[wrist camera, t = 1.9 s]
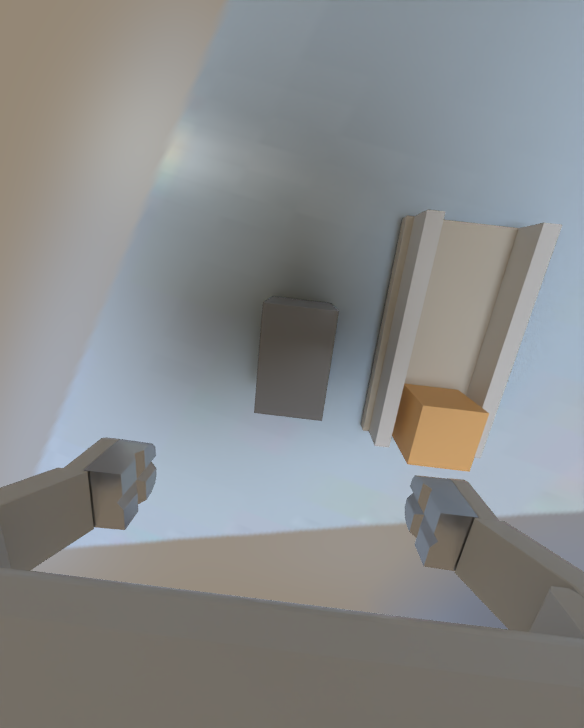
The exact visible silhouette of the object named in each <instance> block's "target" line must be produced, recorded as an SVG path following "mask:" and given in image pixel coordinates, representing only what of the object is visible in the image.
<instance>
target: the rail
mask: <svg viewBox="0 0 584 728" xmlns="http://www.w3.org/2000/svg"><path fill="white" fill-rule="evenodd" d="M444 216H445V211H436V210H426V211H424V212H422V213H420V214H418V215H416V216H405V217H404V218H403V219H402V224H401V229H400V234H399V239H398V244H397V249H396V254H395V259H394V264H393V269H392V274H391V279H390V284H389V289H388V294H387V298H386V303H385V308H384V313H383V318H382V323H381V328H380V333H379V338H378V343H377V348H376V353H375V358H374V363H373V368H372V373H371V378H370V383H369V388H368V393H367V398H366V403H365V408H364V413H363V418H362V422H361V427H362V429H363V431H369V433H370V435H371V438H372V440H373V442H374V445H375V446H381V447H389V446H390V441H391V437H392V436H393V438H394V440H395V442H396V444H397V446H398V448H399V449H400V451H401V453H402V455H403V457H404V459H405V461H406V462H407V464H410V465H419V466H427V467H435V468H444V469H452V470H460V471H470V468H471V466H472V463H473V460H474V458H481V455H482V452H483V449H484V447H485V444H486V441H487V438H488V435H489V432H490V429H491V427H492V424H493V421H494V418H495V415H496V412H497V410H498V407H499V404H500V401H501V398H502V395H503V392H504V390H505V387H506V384H507V381H508V378H509V375H510V373H511V370H512V367H513V364H514V361H515V358H516V355H517V353H518V350H519V347H520V344H521V341H522V338H523V336H524V333H525V330H526V327H527V324H528V321H529V318H530V316H531V313H532V310H533V307H534V304H535V301H536V299H537V296H538V293H539V290H540V287H541V284H542V281H543V279H544V276H545V273H546V270H547V267H548V264H549V262H550V259H551V256H552V253H553V250H554V247H555V244H556V242H557V239H558V236H559V233H560V230H561V227H562V225H560V224H551V223H540V224H536V225H531V226H527V227H522V228H512V227H504V226H495V225H486V224H477V223H468V222H459V221H450V220H444Z"/></svg>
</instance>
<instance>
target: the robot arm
mask: <svg viewBox="0 0 584 728" xmlns="http://www.w3.org/2000/svg"><path fill="white" fill-rule="evenodd" d="M155 456H156V451H155V446H154V445H153V444H152V443H145V442H138V441H130V440H123V439H116V438H107V437H106V438H101V439H100V440H99V441H97V442H96V443H95V444H94V445H92V446H91V447H90V448H88V449H87V450H86V451H85V452H83V453H82V454H81V455H80V456H78V457H77V458H76V459H75V460H73V461H72V462H71V463H69V464H68V465H67V466H66V467H64V468H56V469H53V470H50V471H47V472H44V473H41V474H38V475H35V476H33V477H30V478H27V479H24V480H21V481H18V482H16V483H13V484H10V485H7V486H4V487H1V488H0V728H584V572H583V571H582V570H580V569H579V568H577V567H575V566H574V565H572V564H571V563H569V562H568V561H566V560H564V559H563V558H561V557H560V556H558V555H556V554H555V553H553V552H552V551H550V550H549V549H547V548H546V547H544V546H543V545H541V544H539V543H538V542H536V541H535V540H533V539H532V538H530V537H528V536H527V535H525V534H524V533H522V532H521V531H519V530H518V529H516V528H514V527H513V526H511V525H510V524H508V523H507V522H505V521H499V520H498V518H497V517H496V516H495V515H494V513H493V512H492V511H491V510H490V508H489V507H488V506H487V505H486V504H485V502H484V501H483V500H482V499H481V497H480V496H479V495H478V494H477V492H476V491H475V490H474V489H473V487H472V486H471V485H470V484H469V482H467V481H465V480H460V479H449V478H448V479H445V478H435V477H426V476H416V475H415V476H414V477H413V479H412V482H411V485H410V487H411V489H412V491H413V494H411V495H410V496H409V497H408V498H407V500H406V504H405V520H406V524H407V527H408V529H409V532H410V533H412V534H413V535H414V536H415V537H416V538H417V539H416V542H415V547H416V548H417V551H418V554H419V556H420V558H421V561H422V563H423V566H425V567H432V568H439V569H445V570H452V571H455V573H456V574H457V575H458V577H460V579H461V580H462V581H463V582H464V583H465V584H466V585H467V586H468V587H469V588H470V589H471V590H472V591H473V592H474V593H475V594H476V596H477V597H478V598H479V599H480V600H481V601H482V602H483V603H484V604H485V605H486V606H487V607H488V608H489V609H490V610H491V611H492V612H493V613H494V614H495V615H496V617H498V619H499V620H500V621H501V622H502V623H503V624H504V625H505V626H506V627H507V628H508V629H509V630H507V629H499V628H491V627H483V626H474V625H466V624H458V623H449V622H441V621H433V620H425V619H417V618H409V617H401V616H393V615H385V614H377V613H369V612H361V611H353V610H345V609H337V608H329V607H321V606H313V605H304V604H296V603H289V602H280V601H272V600H264V599H256V598H248V597H240V596H232V595H223V594H215V593H207V592H199V591H191V590H182V589H174V588H166V587H158V586H150V585H142V584H133V583H126V582H118V581H109V580H101V579H93V578H85V577H77V576H69V575H61V574H53V573H45V572H36V571H30V570H32V569H33V568H35V567H36V566H37V565H39V564H41V563H42V562H44V561H45V560H47V559H48V558H50V557H51V556H53V555H54V554H56V553H58V552H59V551H61V550H62V549H64V548H65V547H67V546H68V545H70V544H71V543H73V542H74V541H76V540H77V539H79V538H81V537H82V536H84V535H85V534H87V533H88V532H90V531H91V530H93V529H94V527H99V528H110V529H121V530H125V529H126V528H127V526H128V525H129V523H130V522H131V521H132V519H133V518H134V516H135V515H136V514H137V512H138V504H140V503H141V502H143V501H145V500H147V498H148V497H149V495H150V494H151V492H152V489H153V487H154V484H155V480H156V467H155V466H154V464H153V463H152V462H151V461H152V460H153V459H154V458H155Z"/></svg>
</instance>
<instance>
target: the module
mask: <svg viewBox="0 0 584 728" xmlns="http://www.w3.org/2000/svg"><path fill="white" fill-rule="evenodd" d="M338 315H339V311H338V310H337V309H336V308H335V307H334V306H333V304H332V303H326V302H318V301H309V300H300V299H292V298H283V297H274V296H272V297H271V298H269V299H268V300H266V301H265V302H263V308H262V321H261V333H260V346H259V359H258V371H257V384H256V396H255V409H254V413H261V414H269V415H277V416H286V417H294V418H302V419H311V420H319V421H322V417H323V410H324V404H325V398H326V391H327V385H328V378H329V372H330V366H331V359H332V353H333V347H334V340H335V334H336V327H337V321H338Z"/></svg>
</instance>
